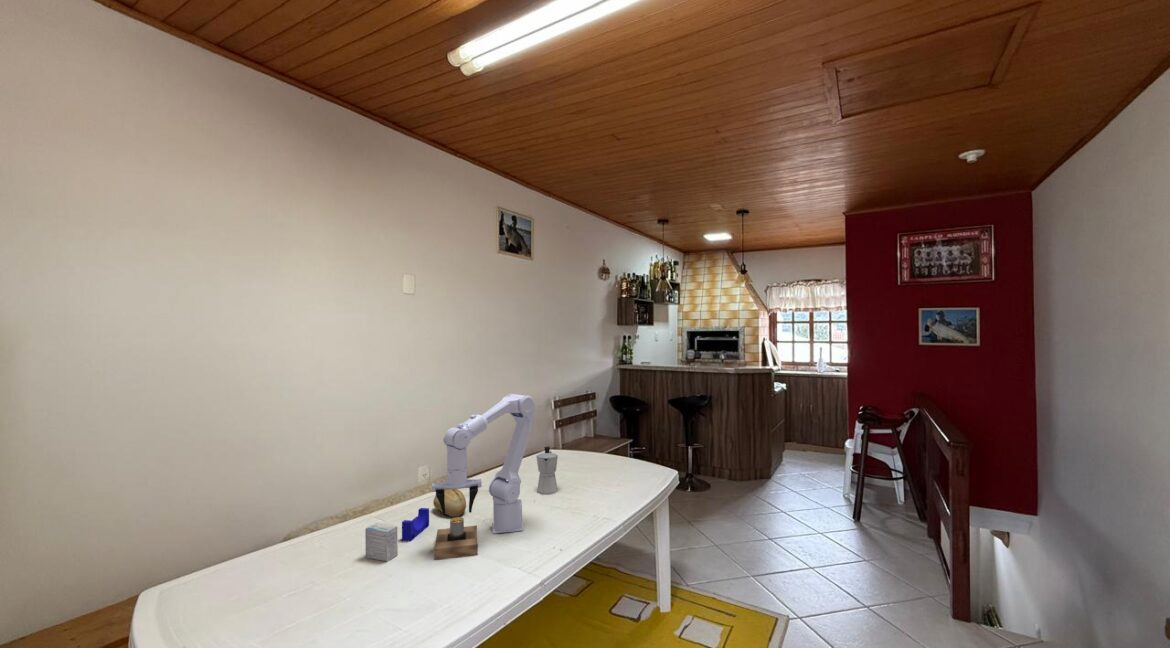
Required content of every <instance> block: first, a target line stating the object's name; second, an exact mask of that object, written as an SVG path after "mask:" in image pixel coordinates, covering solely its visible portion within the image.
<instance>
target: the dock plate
mask: <svg viewBox="0 0 1170 648" xmlns="http://www.w3.org/2000/svg"><path fill="white" fill-rule="evenodd" d="M478 543H479V541H478V525H467V526H464V540H456V541H450V527H448V528H440V529H437V532H436V537H435V545H434V550H433V551H434V558H433V559H434V561H435V560H446V559H452V558H459V557H460V558H461V557H462V558H463V557H470V556H477V555H478V551H479V549H478V548H479V547H478V545H479V544H478Z"/></svg>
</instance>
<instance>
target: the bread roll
mask: <svg viewBox="0 0 1170 648" xmlns="http://www.w3.org/2000/svg"><path fill="white" fill-rule="evenodd" d="M432 503H433V506H434V508H435V509H437V510H439V511H440V512H442V508H441V505H440V503H439V501H438V499H437V497H436V495H435V496H434V498H433V502H432ZM466 507H467V501H466V498H465V495H464V493H463V492H462V491H461V490H460V489H452V490H445V515H447V516H449V517H451V518H455V517H461V516H462V515H463V514H464V513H465V510H466V509H467V508H466Z"/></svg>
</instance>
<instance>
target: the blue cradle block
mask: <svg viewBox="0 0 1170 648" xmlns="http://www.w3.org/2000/svg"><path fill="white" fill-rule="evenodd" d="M417 510H418V513H417V514H418V515H417V516H416V517H414V518H413V519H412V520H409V519H408V520H407V519H404V520H403V521H401V541H402V542H412V541H413V540H415V539H416V538H417V537H418V536H419V535H421V533H423V532H424V531H425V530H426V529H427V528H428V527H429V526H430V508H427V507H419V508H418V509H417Z"/></svg>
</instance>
